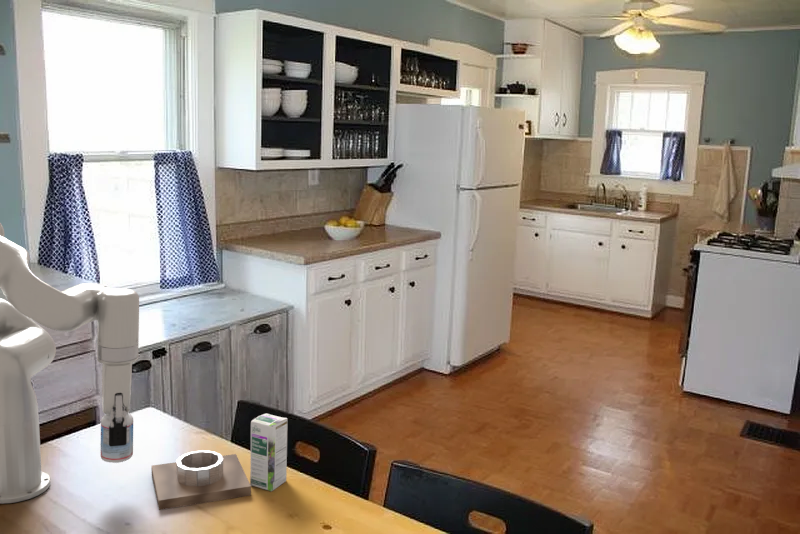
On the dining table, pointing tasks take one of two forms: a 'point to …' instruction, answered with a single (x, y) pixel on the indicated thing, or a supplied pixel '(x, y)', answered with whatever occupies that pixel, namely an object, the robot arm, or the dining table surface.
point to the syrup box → (268, 451)
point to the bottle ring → (200, 476)
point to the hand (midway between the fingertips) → (116, 437)
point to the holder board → (182, 495)
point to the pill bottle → (116, 452)
